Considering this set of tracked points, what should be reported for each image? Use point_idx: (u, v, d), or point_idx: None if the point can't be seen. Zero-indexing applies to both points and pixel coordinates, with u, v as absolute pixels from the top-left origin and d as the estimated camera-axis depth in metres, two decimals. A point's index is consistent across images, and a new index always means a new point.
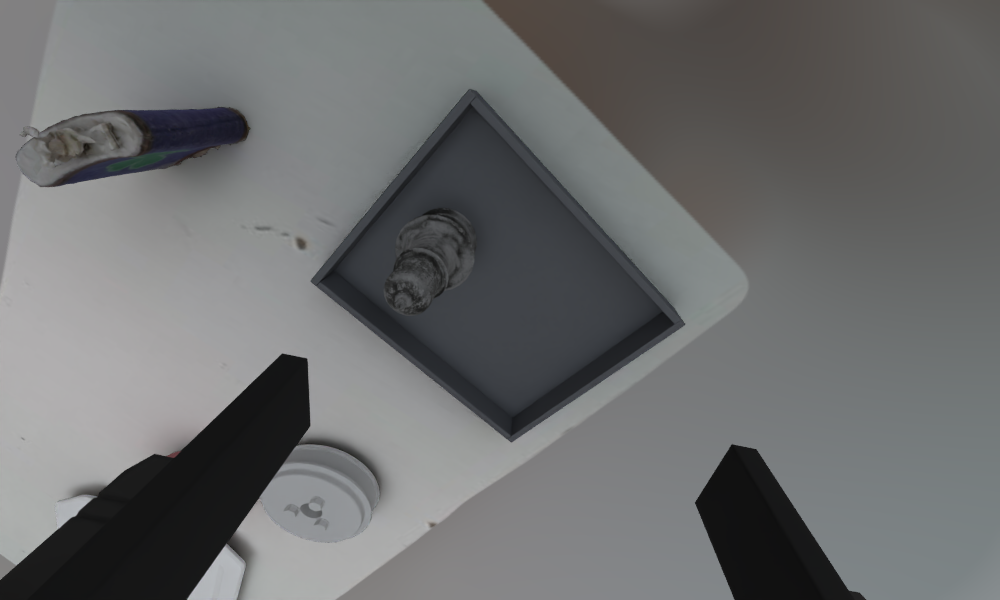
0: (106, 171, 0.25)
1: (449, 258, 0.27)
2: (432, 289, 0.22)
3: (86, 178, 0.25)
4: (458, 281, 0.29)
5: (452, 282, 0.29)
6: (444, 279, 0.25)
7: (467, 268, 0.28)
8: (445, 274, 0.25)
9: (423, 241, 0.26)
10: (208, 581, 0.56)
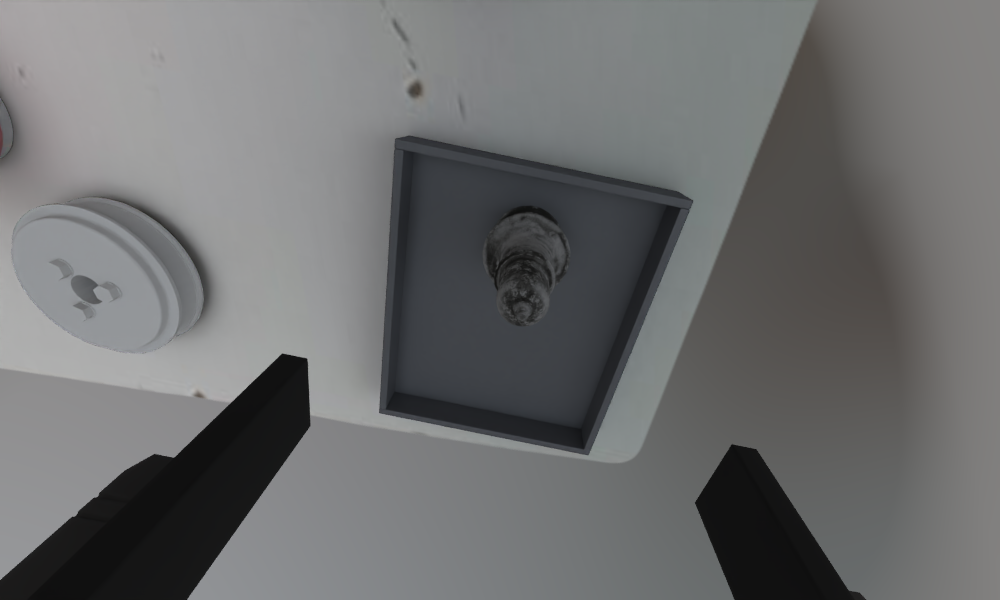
0: None
1: None
2: None
3: None
4: None
5: None
6: None
7: None
8: None
9: (543, 249, 0.24)
10: None
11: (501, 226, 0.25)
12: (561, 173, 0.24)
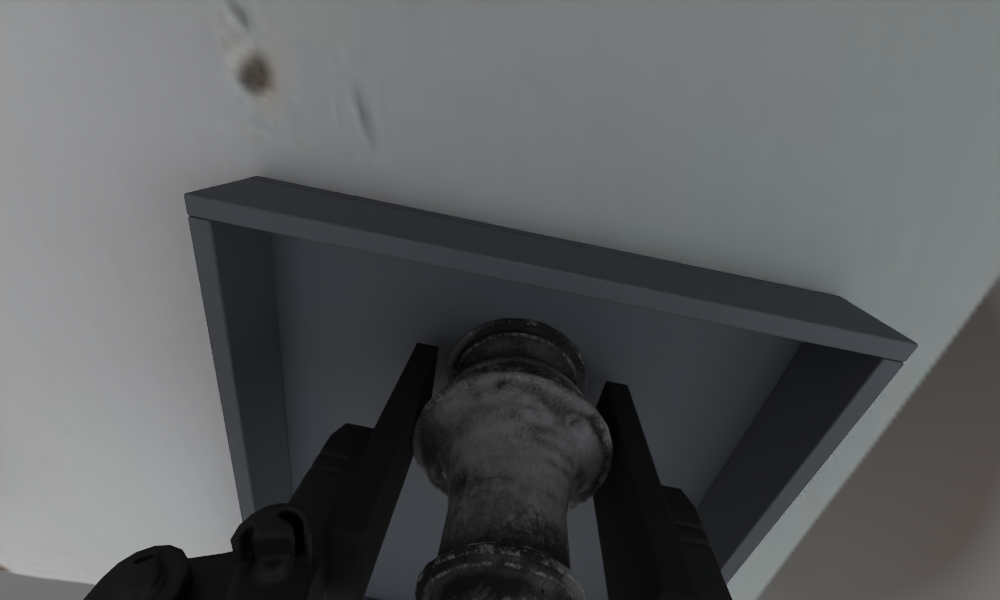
0: None
1: None
2: None
3: None
4: None
5: None
6: None
7: None
8: None
9: (552, 477, 0.09)
10: None
11: (451, 398, 0.10)
12: (595, 277, 0.10)
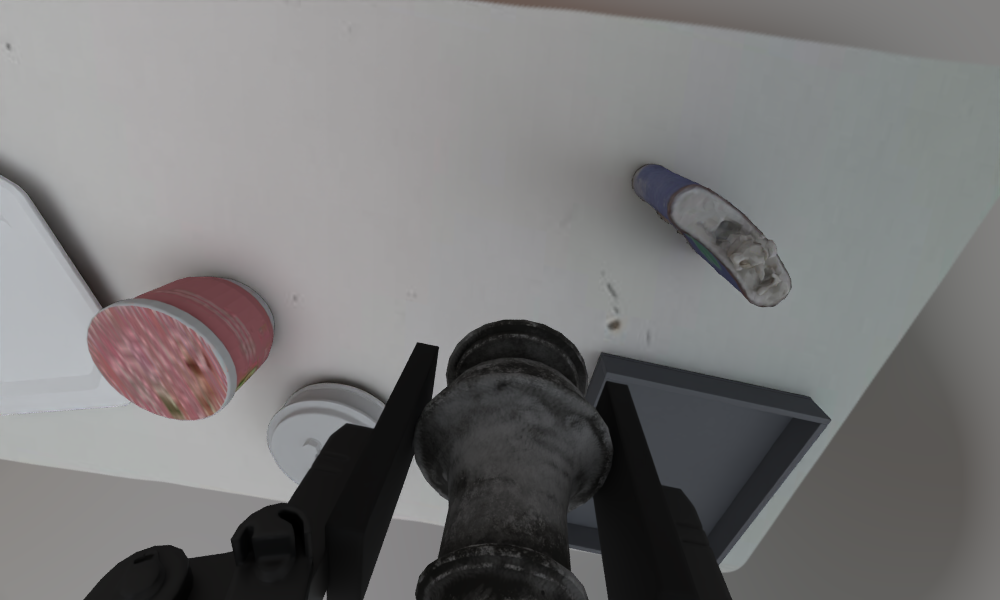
0: None
1: None
2: None
3: None
4: None
5: None
6: None
7: None
8: None
9: (552, 478, 0.09)
10: (36, 371, 0.39)
11: (451, 400, 0.10)
12: (732, 398, 0.32)
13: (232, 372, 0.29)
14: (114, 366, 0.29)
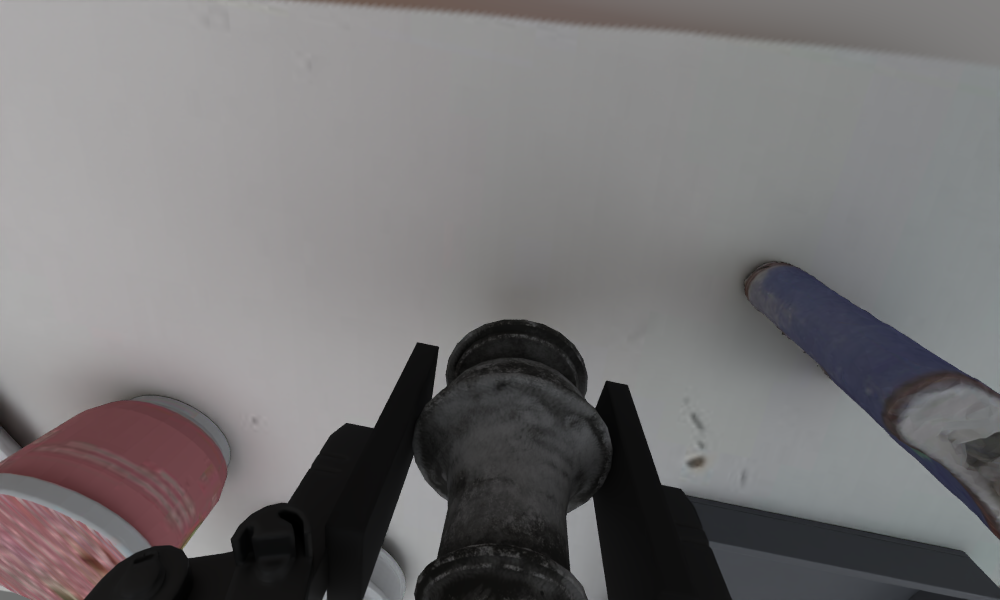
0: None
1: None
2: None
3: None
4: None
5: None
6: None
7: None
8: None
9: (552, 479, 0.09)
10: None
11: (450, 400, 0.10)
12: (869, 572, 0.23)
13: None
14: None
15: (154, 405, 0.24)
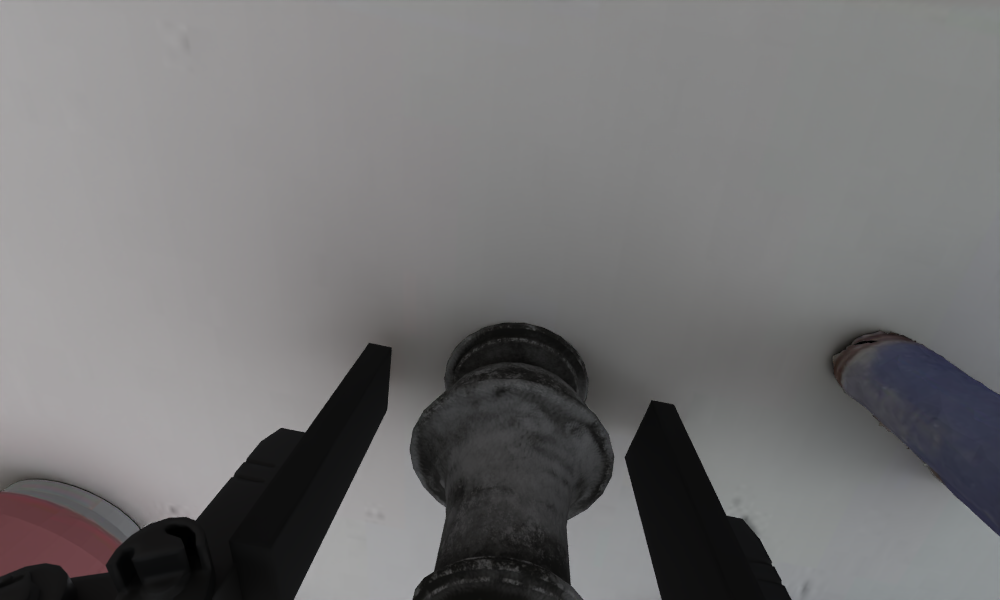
0: None
1: None
2: None
3: None
4: None
5: None
6: None
7: None
8: None
9: (552, 487, 0.09)
10: None
11: (449, 406, 0.10)
12: None
13: None
14: None
15: (33, 499, 0.18)
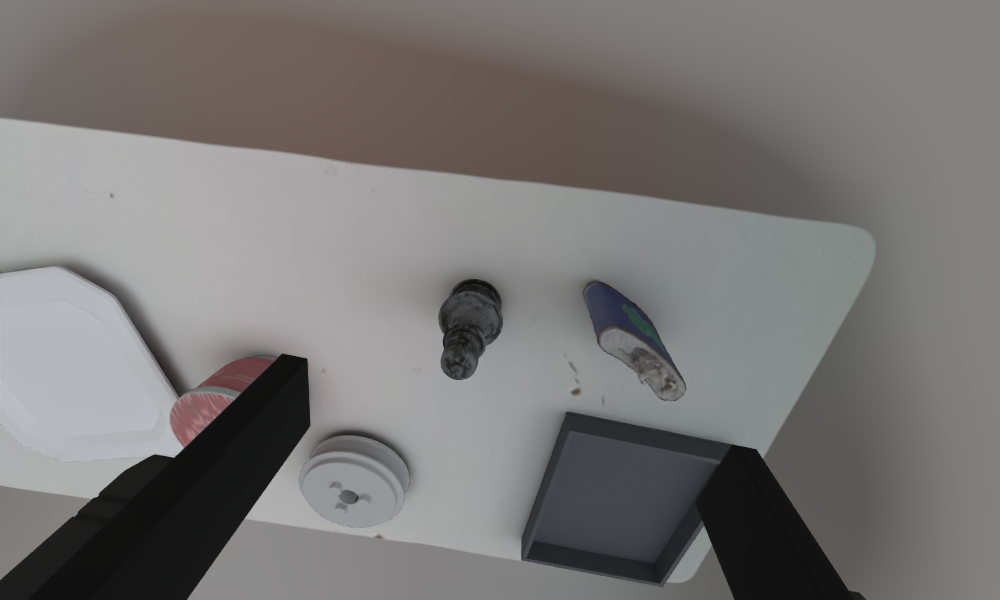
0: None
1: None
2: None
3: None
4: None
5: None
6: None
7: None
8: None
9: (480, 319, 0.33)
10: (106, 426, 0.47)
11: (451, 300, 0.34)
12: (666, 449, 0.41)
13: None
14: (189, 434, 0.37)
15: (269, 360, 0.41)
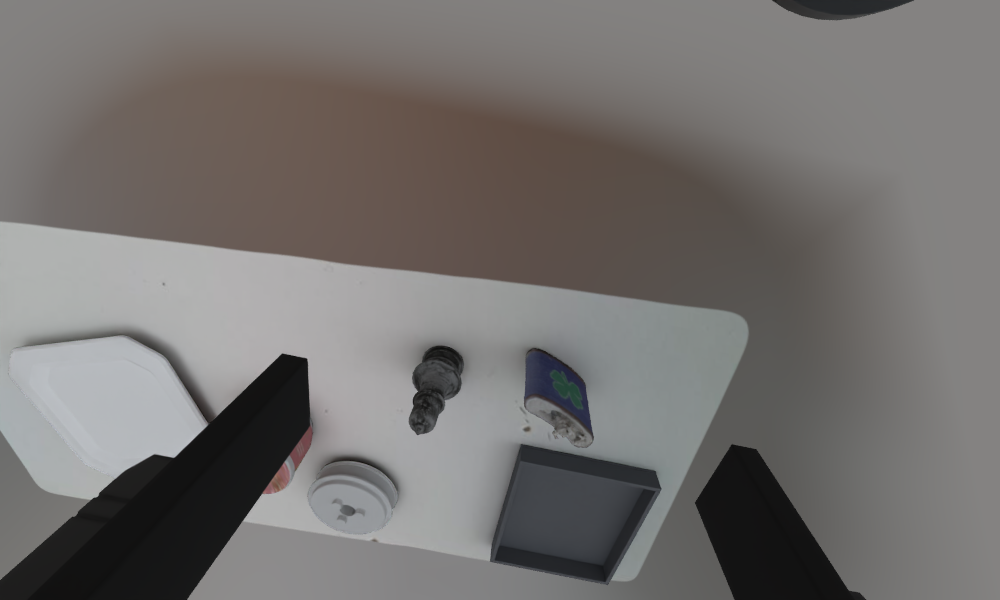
0: None
1: None
2: None
3: None
4: None
5: None
6: None
7: None
8: (438, 413, 0.43)
9: (442, 382, 0.44)
10: (154, 452, 0.59)
11: (421, 366, 0.45)
12: (598, 476, 0.52)
13: (292, 468, 0.49)
14: None
15: None
